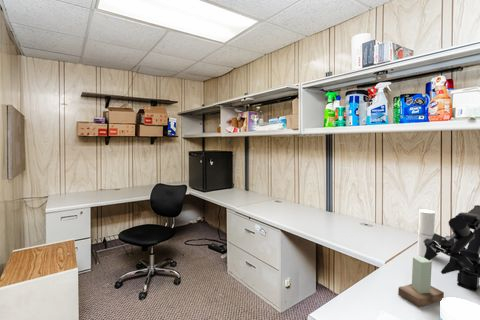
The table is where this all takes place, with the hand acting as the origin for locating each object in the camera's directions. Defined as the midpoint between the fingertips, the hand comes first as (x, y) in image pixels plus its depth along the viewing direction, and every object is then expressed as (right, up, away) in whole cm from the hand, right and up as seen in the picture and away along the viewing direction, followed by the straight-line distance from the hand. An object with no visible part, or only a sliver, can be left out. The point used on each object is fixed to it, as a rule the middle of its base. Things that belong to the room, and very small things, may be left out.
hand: (432, 267), depth 108 cm
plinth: (-5, -12, 0) cm, 13 cm away
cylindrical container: (+25, -9, +39) cm, 47 cm away
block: (-5, -9, 0) cm, 10 cm away
